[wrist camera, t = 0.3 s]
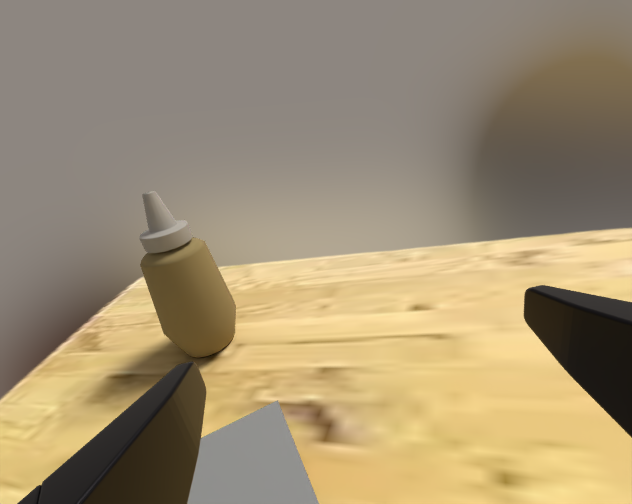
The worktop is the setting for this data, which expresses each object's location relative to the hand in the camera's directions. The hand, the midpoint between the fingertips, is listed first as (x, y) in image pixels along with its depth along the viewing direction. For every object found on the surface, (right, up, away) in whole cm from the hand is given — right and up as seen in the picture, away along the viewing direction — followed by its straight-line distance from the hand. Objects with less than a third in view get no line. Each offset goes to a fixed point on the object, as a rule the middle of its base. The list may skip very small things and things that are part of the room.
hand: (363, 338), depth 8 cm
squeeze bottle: (-14, -8, +29) cm, 33 cm away
